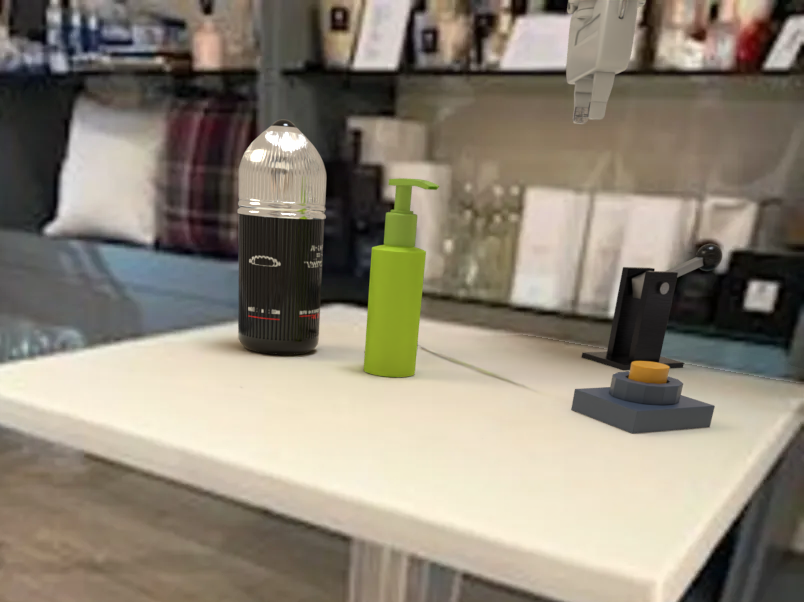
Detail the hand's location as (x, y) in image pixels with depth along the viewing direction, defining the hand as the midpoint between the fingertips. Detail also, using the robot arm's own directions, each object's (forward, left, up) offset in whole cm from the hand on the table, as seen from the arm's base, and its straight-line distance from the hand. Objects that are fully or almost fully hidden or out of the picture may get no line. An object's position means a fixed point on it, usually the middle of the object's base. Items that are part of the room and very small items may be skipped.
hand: (587, 121), depth 107 cm
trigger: (-10, +11, -17) cm, 23 cm away
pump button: (+15, +33, -24) cm, 43 cm away
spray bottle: (+38, -6, -28) cm, 47 cm away
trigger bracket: (-4, +11, -28) cm, 30 cm away
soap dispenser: (+30, +9, -28) cm, 42 cm away
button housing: (+15, +33, -28) cm, 45 cm away
